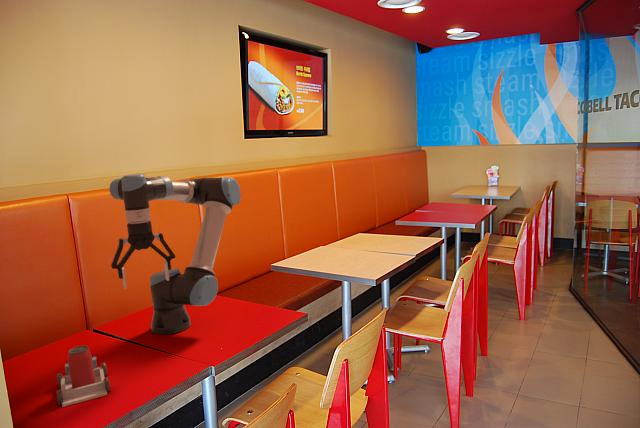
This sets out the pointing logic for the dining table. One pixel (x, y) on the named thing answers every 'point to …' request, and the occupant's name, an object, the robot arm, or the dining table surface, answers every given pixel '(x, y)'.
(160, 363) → the dining table surface
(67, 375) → the chassis
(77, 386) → the beer can
